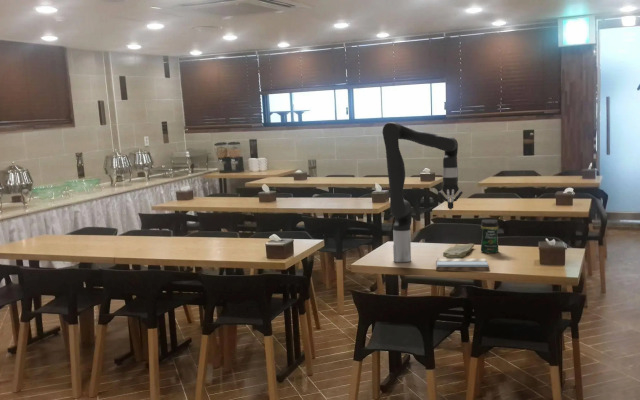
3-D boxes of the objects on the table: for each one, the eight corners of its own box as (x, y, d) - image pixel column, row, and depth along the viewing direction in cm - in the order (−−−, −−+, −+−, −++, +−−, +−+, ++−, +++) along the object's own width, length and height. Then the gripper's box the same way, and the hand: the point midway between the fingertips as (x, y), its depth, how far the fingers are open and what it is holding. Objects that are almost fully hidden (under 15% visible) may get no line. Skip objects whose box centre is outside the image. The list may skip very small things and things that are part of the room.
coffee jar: (481, 253, 345) (480, 220, 343) (480, 250, 353) (480, 218, 351) (499, 253, 343) (498, 220, 341) (498, 250, 351) (498, 218, 348)
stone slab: (440, 252, 339) (455, 240, 365) (440, 260, 339) (455, 247, 365) (462, 254, 333) (476, 241, 359) (462, 261, 333) (476, 248, 359)
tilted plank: (437, 266, 311) (437, 264, 311) (437, 263, 319) (437, 261, 319) (488, 267, 307) (488, 264, 307) (486, 263, 314) (486, 261, 314)
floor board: (436, 270, 311) (436, 265, 311) (436, 263, 326) (435, 258, 326) (489, 270, 306) (489, 265, 306) (486, 263, 321) (486, 258, 321)
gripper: (437, 177, 316) (437, 210, 319) (463, 176, 314) (463, 210, 316) (437, 175, 324) (437, 208, 326) (462, 175, 321) (463, 208, 324)
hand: (450, 209), depth 321 cm, fingers closed
